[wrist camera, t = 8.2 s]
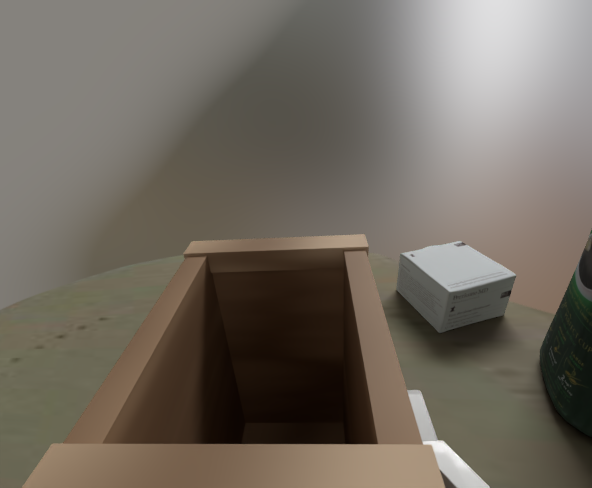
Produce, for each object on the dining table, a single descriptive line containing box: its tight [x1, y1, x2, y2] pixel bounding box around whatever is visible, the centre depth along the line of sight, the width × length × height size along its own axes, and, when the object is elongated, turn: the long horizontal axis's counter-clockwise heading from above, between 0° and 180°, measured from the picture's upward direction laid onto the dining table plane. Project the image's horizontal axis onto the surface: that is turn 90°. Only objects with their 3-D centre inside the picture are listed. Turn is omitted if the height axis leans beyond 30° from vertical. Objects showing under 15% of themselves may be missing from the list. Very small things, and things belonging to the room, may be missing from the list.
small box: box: [397, 241, 516, 333], centre depth 34 cm, size 8×8×5 cm
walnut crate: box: [22, 234, 445, 488], centre depth 10 cm, size 6×8×10 cm
